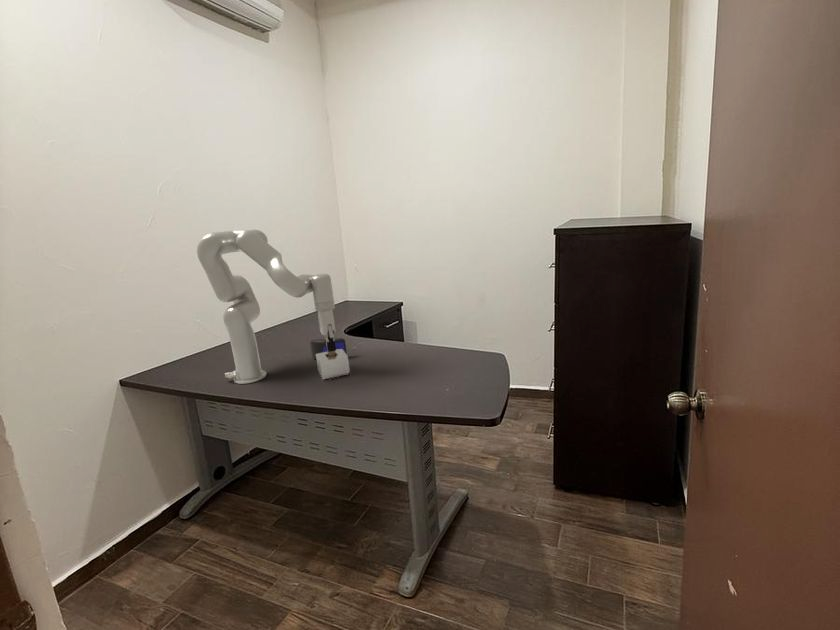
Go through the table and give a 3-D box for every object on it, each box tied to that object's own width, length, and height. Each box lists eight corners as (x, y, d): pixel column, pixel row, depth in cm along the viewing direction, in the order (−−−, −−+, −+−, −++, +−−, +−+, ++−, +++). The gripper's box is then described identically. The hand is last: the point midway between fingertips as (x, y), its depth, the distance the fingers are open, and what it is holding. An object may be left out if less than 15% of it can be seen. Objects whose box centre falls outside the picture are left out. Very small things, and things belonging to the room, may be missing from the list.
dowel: (329, 359, 166) (324, 331, 163) (327, 357, 169) (323, 329, 166) (337, 358, 167) (333, 329, 165) (335, 356, 170) (331, 328, 167)
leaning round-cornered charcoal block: (310, 362, 186) (306, 342, 184) (313, 358, 191) (310, 339, 188) (345, 360, 184) (342, 340, 182) (347, 357, 189) (345, 337, 186)
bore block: (322, 380, 163) (320, 361, 161) (318, 371, 173) (315, 353, 171) (350, 374, 167) (347, 356, 165) (344, 366, 177) (342, 348, 175)
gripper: (312, 303, 169) (318, 346, 174) (318, 311, 154) (325, 357, 159) (330, 300, 172) (336, 342, 176) (338, 307, 157) (344, 353, 161)
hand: (331, 349), depth 167 cm, fingers closed on dowel, 3 cm apart
